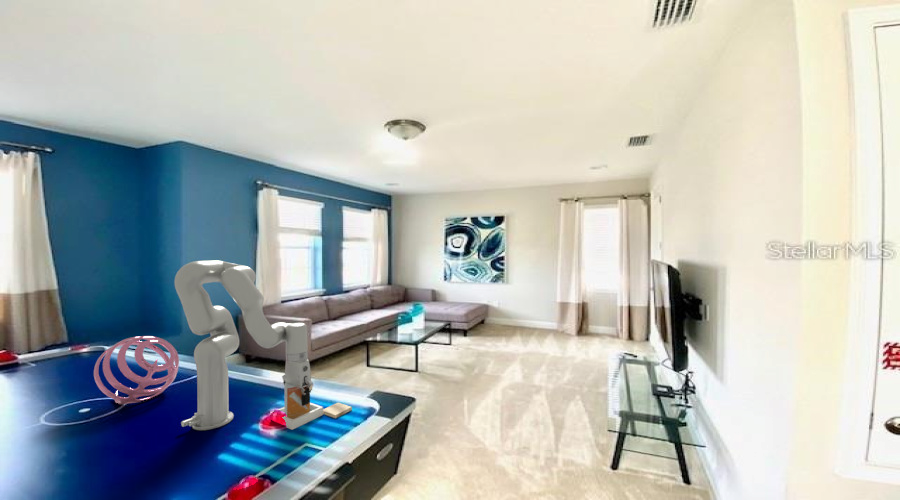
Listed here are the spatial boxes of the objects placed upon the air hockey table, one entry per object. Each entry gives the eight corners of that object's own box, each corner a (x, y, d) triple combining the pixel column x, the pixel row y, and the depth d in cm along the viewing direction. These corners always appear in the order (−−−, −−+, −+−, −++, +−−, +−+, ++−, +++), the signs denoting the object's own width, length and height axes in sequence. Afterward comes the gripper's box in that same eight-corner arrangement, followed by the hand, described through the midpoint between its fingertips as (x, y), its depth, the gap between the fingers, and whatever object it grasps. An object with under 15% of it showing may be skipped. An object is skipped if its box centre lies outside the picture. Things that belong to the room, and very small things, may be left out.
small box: (287, 424, 126) (286, 388, 126) (284, 417, 131) (284, 383, 132) (310, 418, 131) (310, 383, 131) (307, 411, 136) (306, 378, 136)
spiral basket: (74, 357, 146) (115, 322, 141) (150, 354, 171) (187, 325, 166) (76, 422, 134) (121, 387, 130) (158, 410, 160) (197, 380, 155)
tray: (292, 429, 122) (292, 421, 122) (270, 420, 129) (270, 412, 129) (323, 414, 133) (322, 406, 133) (301, 407, 140) (301, 399, 140)
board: (335, 418, 130) (335, 415, 130) (321, 413, 134) (321, 410, 134) (351, 409, 137) (351, 406, 137) (338, 405, 141) (337, 402, 141)
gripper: (320, 356, 130) (321, 402, 130) (291, 350, 139) (292, 393, 139) (302, 362, 123) (303, 410, 123) (274, 355, 132) (274, 400, 132)
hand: (297, 401), depth 131 cm, fingers open, 9 cm apart
